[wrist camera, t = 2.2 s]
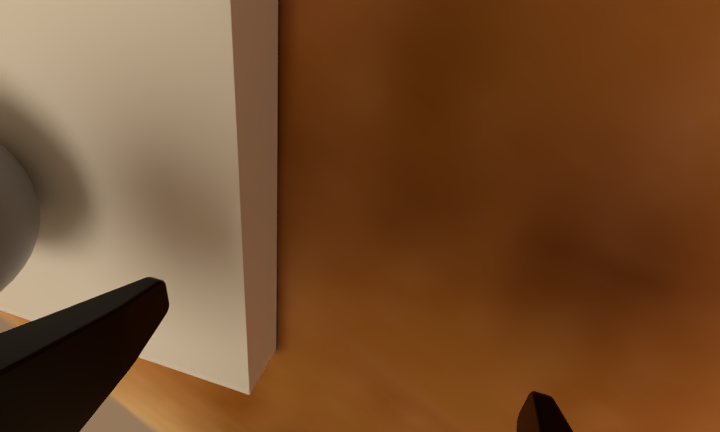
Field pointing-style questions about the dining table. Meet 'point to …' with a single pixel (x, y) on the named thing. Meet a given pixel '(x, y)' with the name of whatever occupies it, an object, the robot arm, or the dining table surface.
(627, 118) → the dining table surface
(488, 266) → the dining table surface
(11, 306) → the deck
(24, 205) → the ball
